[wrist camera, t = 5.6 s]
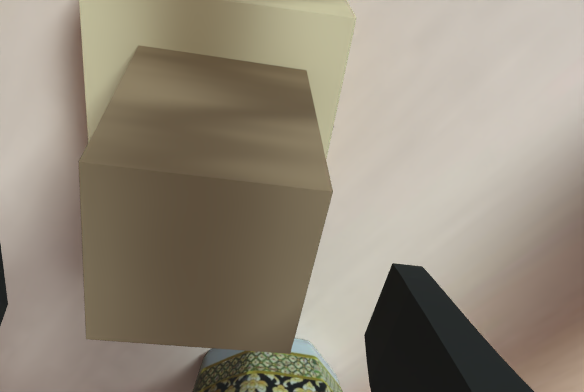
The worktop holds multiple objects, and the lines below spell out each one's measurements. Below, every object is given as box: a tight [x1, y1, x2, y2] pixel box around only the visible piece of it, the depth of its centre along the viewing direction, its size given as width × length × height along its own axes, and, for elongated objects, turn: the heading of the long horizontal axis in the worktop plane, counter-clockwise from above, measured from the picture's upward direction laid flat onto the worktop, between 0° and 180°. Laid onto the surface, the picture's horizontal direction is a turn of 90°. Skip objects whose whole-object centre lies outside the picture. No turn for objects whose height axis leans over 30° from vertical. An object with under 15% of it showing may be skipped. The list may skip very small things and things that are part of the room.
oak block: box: [79, 0, 356, 158], centre depth 17 cm, size 7×7×3 cm
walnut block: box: [79, 45, 333, 354], centre depth 13 cm, size 4×4×6 cm
